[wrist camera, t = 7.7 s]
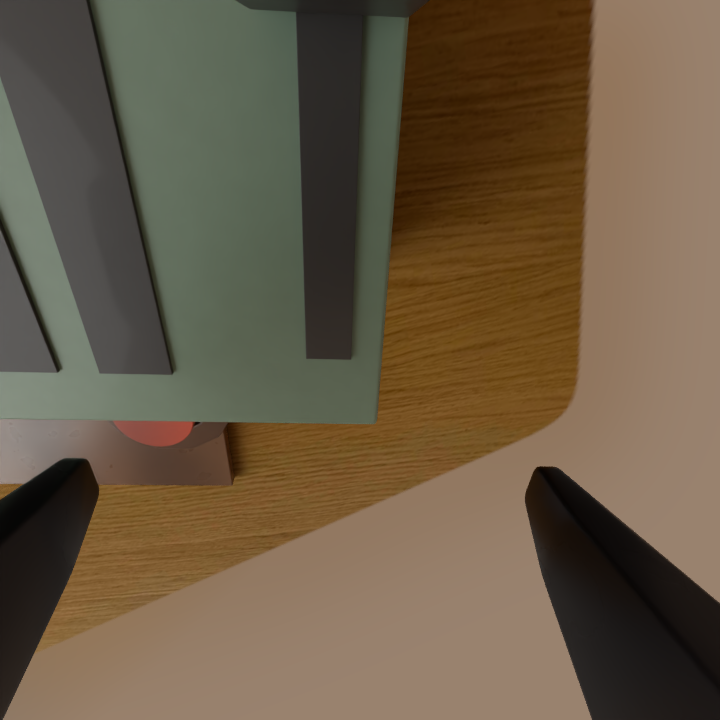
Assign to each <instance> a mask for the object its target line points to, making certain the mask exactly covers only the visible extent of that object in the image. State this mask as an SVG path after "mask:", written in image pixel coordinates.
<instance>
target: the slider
mask: <svg viewBox="0 0 720 720" xmlns="http://www.w3.org/2000/svg"><path fill="white" fill-rule="evenodd" d="M236 1H237V2H239V3H241V4H242V5H244V6H246V7H247V8H249V9H252V10H270V11H289V12H308V13H327V14H346V15H365V16H384V17H403V18H407V17H409V16H411V15H412V14H413V13H415V12H416V11H417V10H418V9H420V8H421V7H422V6H423V5H425V4H426V3H427V2H428V1H430V0H236Z"/></svg>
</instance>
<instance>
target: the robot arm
mask: <svg viewBox="0 0 720 720" xmlns="http://www.w3.org/2000/svg"><path fill="white" fill-rule="evenodd" d="M98 495H99V487H98V483H97V481H96V478H95V475H94V473H93V470H92V468H91V465H90V463H89V461H88V460H87V459H84V458H64V459H61V460H60V461H58V462H56V463H55V464H53V465H52V466H50V467H49V468H47V469H46V470H44V471H43V472H41V473H40V474H38V475H37V476H35V477H34V478H32V479H31V480H29V481H28V482H26V483H25V484H23V485H22V486H20V487H19V488H17V489H16V490H14V491H13V492H11V493H10V494H8V495H7V496H5V497H4V498H2V499H1V500H0V720H3V718H4V716H5V714H6V712H7V710H8V707H9V705H10V703H11V701H12V699H13V697H14V695H15V693H16V690H17V688H18V686H19V684H20V682H21V680H22V678H23V676H24V673H25V671H26V669H27V667H28V665H29V663H30V661H31V658H32V656H33V654H34V652H35V650H36V648H37V646H38V644H39V642H40V639H41V637H42V635H43V633H44V631H45V629H46V627H47V625H48V623H49V620H50V618H51V616H52V614H53V612H54V610H55V608H56V606H57V603H58V601H59V599H60V597H61V595H62V593H63V591H64V589H65V586H66V584H67V582H68V580H69V577H70V575H71V573H72V570H73V568H74V565H75V562H76V560H77V557H78V554H79V551H80V548H81V545H82V543H83V540H84V537H85V534H86V531H87V528H88V525H89V523H90V520H91V517H92V514H93V511H94V508H95V505H96V502H97V499H98ZM525 504H526V508H527V513H528V517H529V521H530V526H531V530H532V534H533V539H534V543H535V547H536V552H537V556H538V560H539V564H540V568H541V572H542V576H543V579H544V582H545V585H546V588H547V591H548V594H549V597H550V600H551V603H552V606H553V608H554V611H555V614H556V617H557V620H558V622H559V625H560V629H561V632H562V634H563V637H564V640H565V643H566V646H567V649H568V652H569V655H570V657H571V660H572V663H573V666H574V669H575V672H576V675H577V678H578V680H579V683H580V686H581V689H582V692H583V695H584V698H585V701H586V704H587V706H588V709H589V712H590V715H591V718H592V720H720V603H719V602H718V601H717V600H715V599H714V598H713V597H712V596H710V595H709V594H708V593H707V592H706V591H705V590H703V589H702V588H701V587H700V586H699V585H697V584H696V583H695V582H694V581H693V580H691V579H690V578H689V577H688V576H687V575H685V574H684V573H683V572H682V571H681V570H680V569H678V568H677V567H676V566H674V565H673V564H672V563H671V562H670V561H669V560H668V559H666V558H665V557H664V556H663V555H662V554H660V553H659V552H658V551H657V550H655V549H654V548H653V547H652V546H651V545H650V544H648V543H647V542H646V541H645V540H644V539H642V538H641V537H640V536H639V535H638V534H636V533H635V532H634V531H633V530H632V529H630V528H629V527H628V526H627V525H626V524H624V523H623V522H622V521H621V520H620V519H619V518H617V517H616V516H615V515H614V514H613V513H611V512H610V511H609V510H608V509H607V508H605V507H604V506H603V505H602V504H601V503H600V502H598V501H597V500H596V499H595V498H593V497H592V496H591V495H590V494H589V493H588V492H586V491H585V490H584V489H583V488H582V487H580V486H579V485H578V484H577V483H576V482H574V481H573V480H572V479H571V478H570V477H569V476H567V475H566V474H565V473H564V472H563V471H561V470H560V469H559V468H557V467H541V466H540V467H537V468H536V469H535V470H534V472H533V474H532V477H531V480H530V482H529V485H528V488H527V490H526V494H525Z"/></svg>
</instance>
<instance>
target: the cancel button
mask: <svg viewBox="0 0 720 720" xmlns="http://www.w3.org/2000/svg"><path fill="white" fill-rule="evenodd" d="M113 422H114V423H115V425H116V426H117V427H118V429H119V430H120V431H121V432H123V433H124V434H125V435H126V436H128V437H129V438H131V439H133V440H135V441H137V442H140V443H143V444H146V445H151V446H170V445H174V444H177V443H179V442H181V441H183V440H184V439H185V438H187V437H188V436H189V434H190V433H191V431H192V429H193V426H194V424H195V422H184V421H113Z"/></svg>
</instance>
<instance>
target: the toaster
mask: <svg viewBox="0 0 720 720" xmlns="http://www.w3.org/2000/svg"><path fill="white" fill-rule="evenodd" d="M408 23H409V17H407V18H403V17H384V16H365V15H346V14H327V13H308V12H289V11H270V10H252V9H249V8H247V7H246V6H244V5H242V4H241V3H239V2H237V1H236V0H0V419H36V420H110V421H184V422H258V423H332V424H375V423H376V421H377V413H378V401H379V388H380V375H381V363H382V350H383V338H384V325H385V312H386V300H387V287H388V275H389V262H390V249H391V237H392V224H393V212H394V199H395V186H396V174H397V161H398V149H399V136H400V123H401V111H402V98H403V86H404V73H405V60H406V48H407V35H408Z"/></svg>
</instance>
